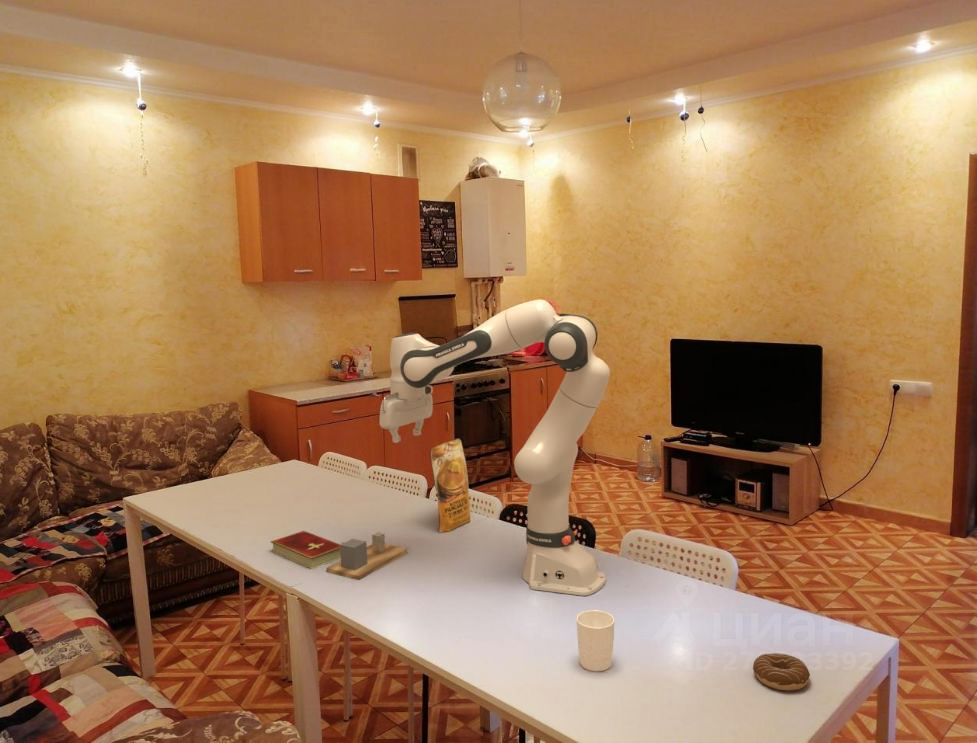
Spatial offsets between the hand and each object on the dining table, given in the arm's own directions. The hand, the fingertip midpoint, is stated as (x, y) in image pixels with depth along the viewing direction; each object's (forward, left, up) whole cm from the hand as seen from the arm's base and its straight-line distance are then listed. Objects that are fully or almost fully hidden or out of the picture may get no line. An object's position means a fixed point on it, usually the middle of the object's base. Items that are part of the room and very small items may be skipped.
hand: (407, 438), depth 205 cm
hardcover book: (+31, +10, -37) cm, 50 cm away
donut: (-103, +14, -37) cm, 110 cm away
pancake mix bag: (+6, -31, -37) cm, 49 cm away
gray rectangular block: (+11, +12, -35) cm, 39 cm away
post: (+11, +1, -35) cm, 37 cm away
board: (+11, +6, -37) cm, 39 cm away
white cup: (-68, +26, -37) cm, 81 cm away
